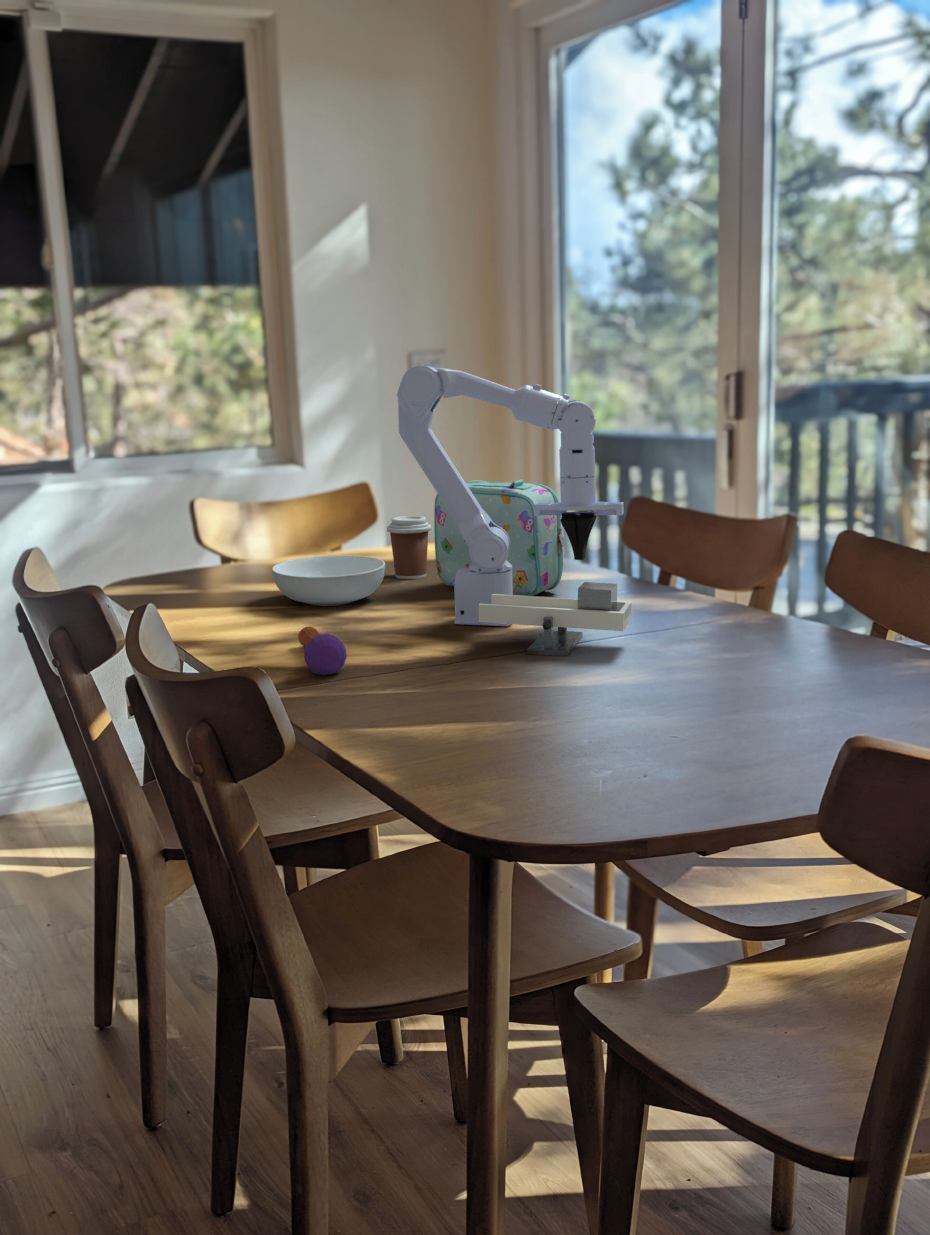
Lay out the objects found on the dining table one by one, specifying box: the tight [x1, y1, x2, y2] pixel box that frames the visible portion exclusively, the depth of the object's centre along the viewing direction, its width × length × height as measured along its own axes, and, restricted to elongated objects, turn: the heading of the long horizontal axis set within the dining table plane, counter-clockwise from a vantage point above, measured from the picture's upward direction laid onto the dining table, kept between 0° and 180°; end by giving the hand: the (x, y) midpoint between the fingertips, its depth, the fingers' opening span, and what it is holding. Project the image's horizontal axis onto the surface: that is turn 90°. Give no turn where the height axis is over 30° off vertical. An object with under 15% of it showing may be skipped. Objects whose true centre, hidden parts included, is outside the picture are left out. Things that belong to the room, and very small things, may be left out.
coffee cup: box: [386, 515, 432, 580], centre depth 232 cm, size 9×9×12 cm
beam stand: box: [526, 617, 583, 657], centre depth 174 cm, size 6×12×6 cm, turn 163°
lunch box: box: [433, 478, 567, 596], centre depth 214 cm, size 27×10×21 cm, turn 50°
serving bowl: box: [271, 554, 386, 607], centre depth 211 cm, size 21×21×7 cm
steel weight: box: [577, 581, 618, 612], centre depth 171 cm, size 5×5×4 cm
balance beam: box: [479, 594, 633, 632], centre depth 173 cm, size 22×8×3 cm, turn 73°
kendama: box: [297, 626, 347, 676], centre depth 169 cm, size 6×6×20 cm
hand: (579, 558), depth 188 cm, fingers closed
